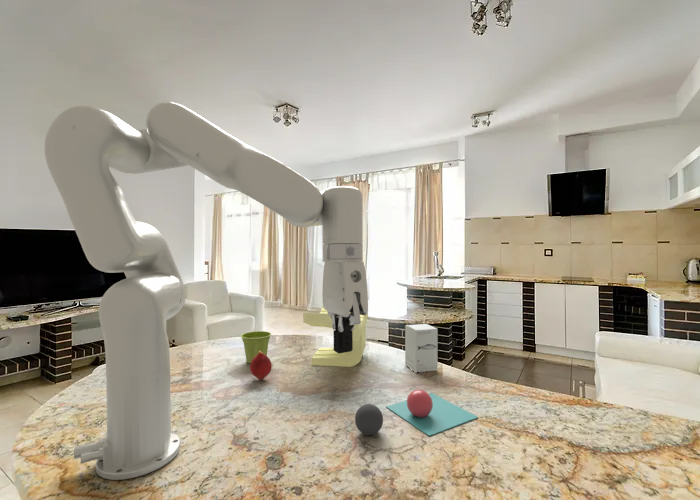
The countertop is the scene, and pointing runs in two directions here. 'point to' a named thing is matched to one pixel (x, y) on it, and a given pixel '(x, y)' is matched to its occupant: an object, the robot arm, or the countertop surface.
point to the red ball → (419, 403)
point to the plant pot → (255, 343)
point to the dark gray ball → (368, 419)
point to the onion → (260, 366)
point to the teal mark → (434, 416)
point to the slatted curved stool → (328, 354)
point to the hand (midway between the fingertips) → (343, 351)
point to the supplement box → (421, 347)
